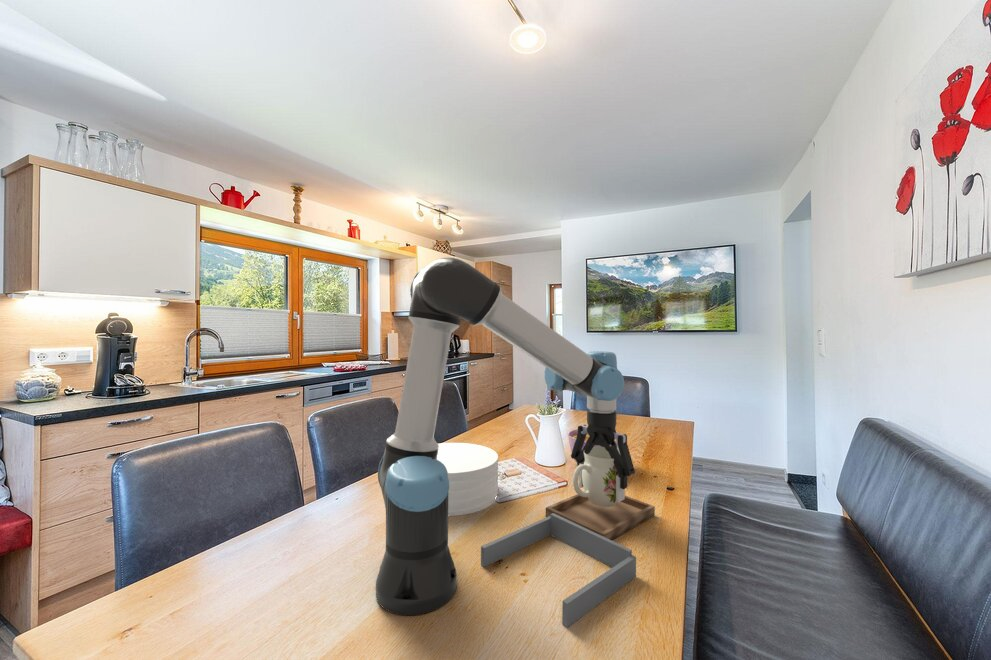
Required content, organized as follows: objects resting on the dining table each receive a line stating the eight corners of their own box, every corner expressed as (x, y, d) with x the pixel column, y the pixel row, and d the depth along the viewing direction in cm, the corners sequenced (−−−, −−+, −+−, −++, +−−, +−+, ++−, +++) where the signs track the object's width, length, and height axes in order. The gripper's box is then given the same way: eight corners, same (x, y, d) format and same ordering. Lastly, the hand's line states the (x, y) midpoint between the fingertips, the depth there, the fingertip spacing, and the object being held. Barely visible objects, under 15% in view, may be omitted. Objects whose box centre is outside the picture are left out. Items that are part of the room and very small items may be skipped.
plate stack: (512, 506, 114) (513, 465, 113) (411, 524, 103) (412, 478, 103) (479, 472, 140) (479, 439, 139) (396, 483, 129) (396, 447, 129)
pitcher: (559, 501, 108) (560, 449, 108) (609, 488, 117) (610, 440, 117) (588, 518, 99) (588, 462, 99) (640, 503, 108) (641, 451, 107)
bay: (566, 627, 68) (567, 597, 68) (480, 565, 85) (481, 541, 85) (635, 576, 82) (636, 552, 82) (549, 532, 99) (550, 511, 99)
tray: (603, 545, 94) (604, 534, 93) (545, 516, 107) (545, 507, 107) (654, 515, 108) (654, 506, 108) (597, 494, 122) (597, 485, 122)
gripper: (650, 415, 101) (649, 503, 101) (575, 401, 119) (574, 476, 119) (634, 420, 96) (633, 512, 96) (558, 405, 114) (557, 483, 114)
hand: (600, 493), depth 108 cm, fingers closed on pitcher, 11 cm apart
